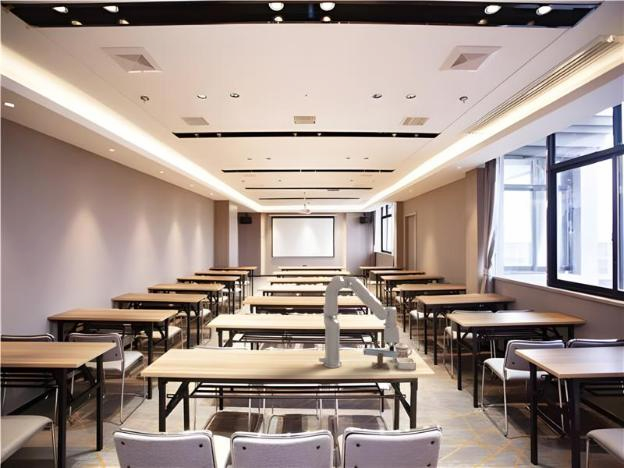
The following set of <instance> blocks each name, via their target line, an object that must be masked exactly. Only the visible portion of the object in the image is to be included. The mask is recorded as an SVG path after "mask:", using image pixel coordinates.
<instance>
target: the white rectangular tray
mask: <svg viewBox="0 0 624 468" xmlns="http://www.w3.org/2000/svg"><path fill="white" fill-rule="evenodd" d="M395 359H396V367H397V369H398V370H412V371H413V370H415V371H416V370H417V364H416V360H415V359H414V357H408V358H395ZM409 361H411V362H409Z"/></svg>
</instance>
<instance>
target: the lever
mask: <svg viewBox="0 0 624 468" xmlns="http://www.w3.org/2000/svg"><path fill="white" fill-rule="evenodd" d="M362 353H363V355H364V356H373V357H377V356H378V354H383V358H384V357H385V358H393V359H396V358H397V353H396V350H394V351H389V349H379V348H378V349H376V348H368V347H364V348H363V351H362Z"/></svg>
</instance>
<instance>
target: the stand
mask: <svg viewBox="0 0 624 468" xmlns="http://www.w3.org/2000/svg"><path fill="white" fill-rule="evenodd" d="M376 357H377V359H376V361H377V362H374V361H373V362H371V364H372V369H373V370H390V369H389V365H388V362H384V357H383V354H378V356H376Z"/></svg>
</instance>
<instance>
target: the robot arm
mask: <svg viewBox="0 0 624 468" xmlns="http://www.w3.org/2000/svg"><path fill="white" fill-rule="evenodd" d="M342 289H350V290H351V291H352V292H353V294H354V295H355V296H356V297H357V298H358V299H359V300H360V301H361V302H362V303H363V304H364V305H365V306H366V307H367V308H368V309H369V311H371V312H372V313H373V314H374V316H375V317H376V318H377V319H378V320H380V321H384V323H383V326H384V329H383V330H384V331H383V344H386V345H387V346H389V347H388V348H389V349H388V350H389V351H395V346H396V345H398V344H400V343H401V342H400V331H399V327H398V325H397V324H398V323H397V322H398V320H397V319H398V318H397V316H398V315H397V313H398V312H397V311H398V310H397V308H396V307H395V306H382V304H381V303H380V302H379V301H378V300H377V299H376V297H375V296H374V295H373V294H372V292H371V291H370V290H369V289H368V288H367V287H366V286H365V285H364V284H363V282H362V281H361V280H360V279H358V278H357V277H354V276H345V275H333V277H331V281H330V282H329V283H328V285H327V286H326V288H325V292H324V297H325V298H324V304H323V322H324V323H323V324H324V327H325V330H324V331H325V336H324V338H325V341H324V342H325V346H324V347H325V352H324V353H325V356H324V357H323V358H321V357H319V358H318V362H321V363H323V364H322V365H323V366H324V367H325V368H329V369H333V368H334V369H336V368H340V367H341V366H342V361H340V330H341V329H340V328H341V327H340V322H339V320H338V313H339V306H338V305H339V302H338V301H339V299H338V295H339V291H340V290H342ZM391 343H392V344H391Z"/></svg>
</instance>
